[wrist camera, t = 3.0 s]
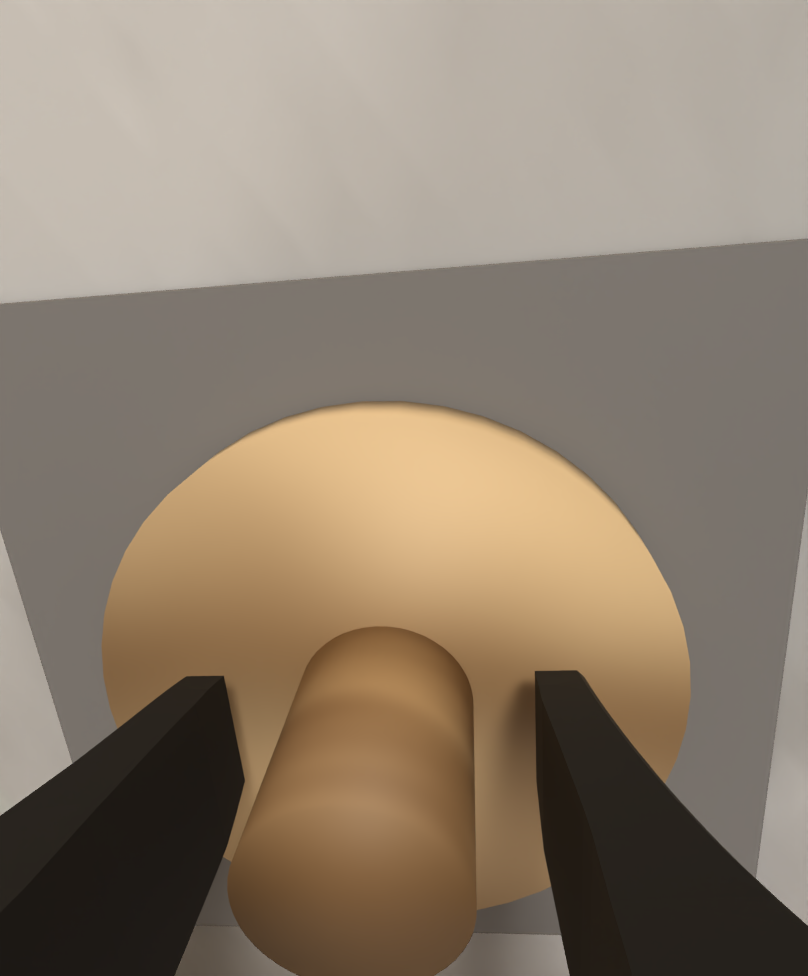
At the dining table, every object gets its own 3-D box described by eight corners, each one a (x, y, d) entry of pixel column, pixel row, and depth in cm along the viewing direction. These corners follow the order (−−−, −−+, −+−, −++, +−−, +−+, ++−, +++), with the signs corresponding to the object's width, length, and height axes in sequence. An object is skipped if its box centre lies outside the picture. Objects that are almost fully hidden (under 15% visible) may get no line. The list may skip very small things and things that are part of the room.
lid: (661, 870, 13) (758, 1181, 8) (188, 865, 14) (64, 1141, 9) (684, 377, 10) (858, 479, 5) (70, 422, 11) (-191, 537, 6)
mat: (740, 920, 13) (747, 940, 13) (130, 906, 15) (121, 923, 14) (826, 236, 9) (842, 236, 9) (-49, 307, 10) (-68, 310, 10)
